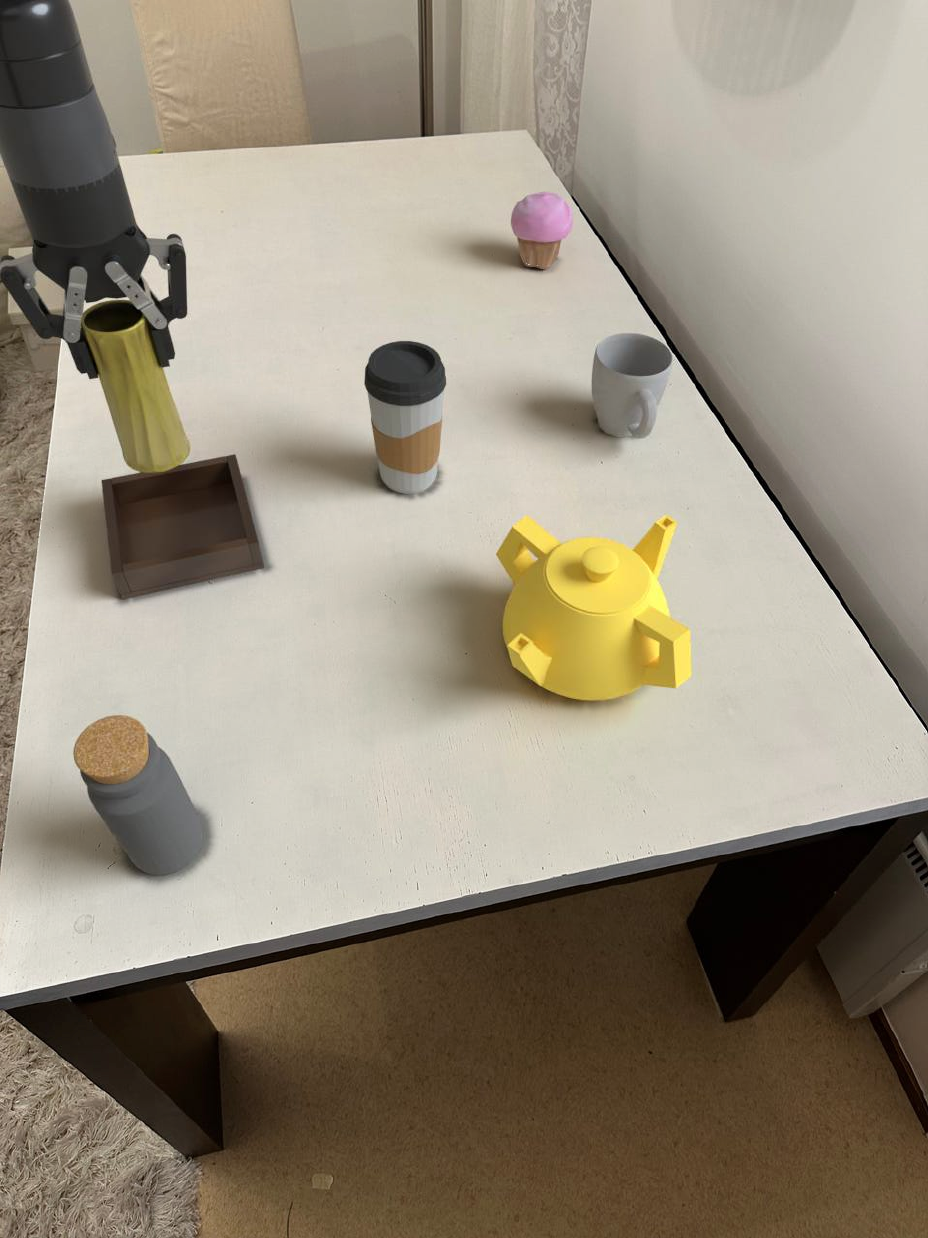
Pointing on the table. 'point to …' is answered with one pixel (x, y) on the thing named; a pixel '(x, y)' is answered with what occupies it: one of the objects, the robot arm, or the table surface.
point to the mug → (629, 383)
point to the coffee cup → (406, 413)
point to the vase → (135, 386)
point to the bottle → (139, 795)
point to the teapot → (592, 613)
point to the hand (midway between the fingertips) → (129, 366)
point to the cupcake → (541, 227)
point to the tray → (179, 527)
